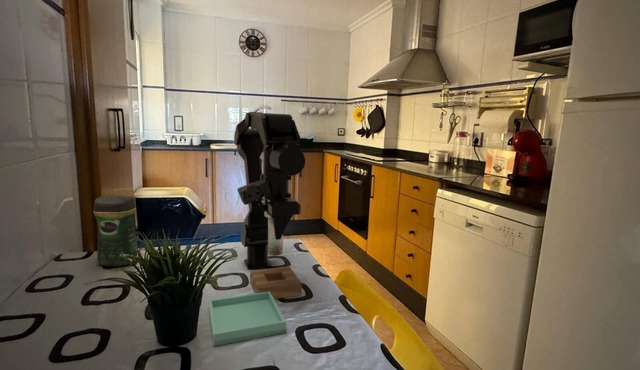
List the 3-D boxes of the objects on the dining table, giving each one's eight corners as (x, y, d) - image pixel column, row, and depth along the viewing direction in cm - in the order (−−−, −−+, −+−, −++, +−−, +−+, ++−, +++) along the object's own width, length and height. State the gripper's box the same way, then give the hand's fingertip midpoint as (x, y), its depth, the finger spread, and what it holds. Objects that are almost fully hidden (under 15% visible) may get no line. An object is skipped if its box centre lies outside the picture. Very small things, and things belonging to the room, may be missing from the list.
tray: (208, 309, 73) (208, 299, 72) (269, 300, 77) (269, 291, 77) (213, 346, 61) (213, 334, 60) (285, 332, 65) (286, 321, 65)
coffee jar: (143, 256, 101) (140, 193, 98) (129, 267, 93) (125, 199, 90) (109, 256, 100) (104, 192, 97) (92, 266, 92) (87, 198, 89)
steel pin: (262, 250, 83) (262, 209, 82) (283, 248, 85) (283, 208, 84) (266, 257, 78) (267, 214, 77) (289, 255, 80) (289, 213, 79)
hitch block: (250, 282, 86) (250, 271, 86) (289, 277, 90) (289, 266, 89) (258, 301, 77) (258, 288, 76) (301, 294, 80) (301, 282, 80)
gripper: (234, 165, 84) (234, 228, 87) (247, 176, 67) (247, 253, 70) (279, 165, 88) (278, 225, 91) (302, 175, 71) (300, 248, 74)
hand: (275, 236), depth 81 cm, fingers closed on steel pin, 4 cm apart
